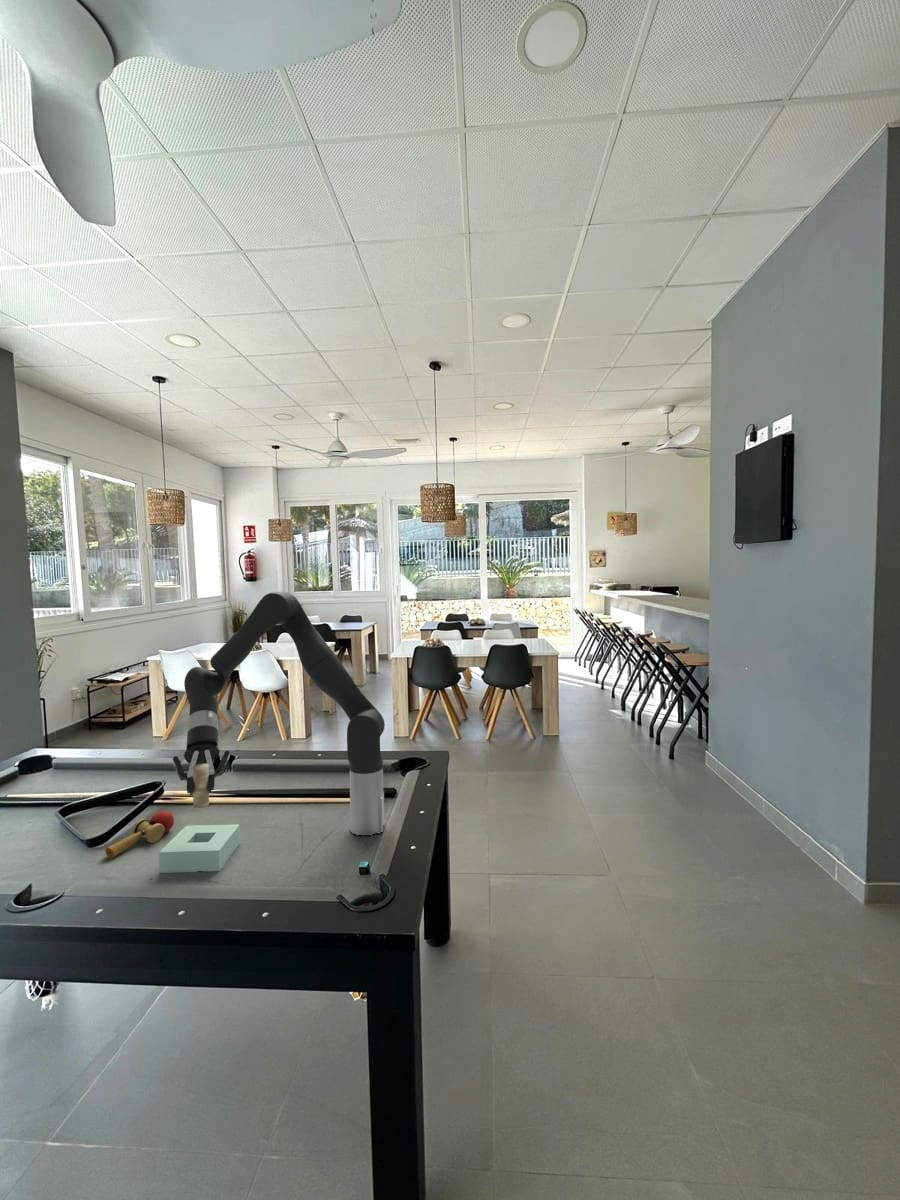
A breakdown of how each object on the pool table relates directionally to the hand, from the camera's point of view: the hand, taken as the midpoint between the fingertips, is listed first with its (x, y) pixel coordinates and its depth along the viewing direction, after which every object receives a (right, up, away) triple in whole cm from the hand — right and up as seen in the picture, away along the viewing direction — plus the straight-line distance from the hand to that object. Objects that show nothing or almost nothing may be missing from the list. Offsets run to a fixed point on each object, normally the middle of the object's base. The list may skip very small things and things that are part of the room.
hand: (200, 792), depth 129 cm
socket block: (-1, -17, +2) cm, 17 cm away
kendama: (-21, -18, +10) cm, 29 cm away
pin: (-1, -4, +2) cm, 5 cm away
